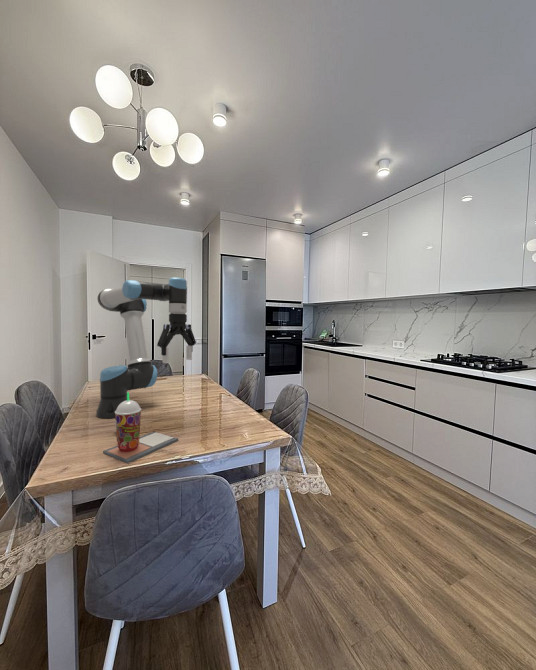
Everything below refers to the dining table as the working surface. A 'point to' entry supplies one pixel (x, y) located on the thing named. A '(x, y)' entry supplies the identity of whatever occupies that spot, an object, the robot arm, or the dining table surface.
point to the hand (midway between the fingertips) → (177, 361)
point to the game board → (142, 447)
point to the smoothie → (128, 425)
